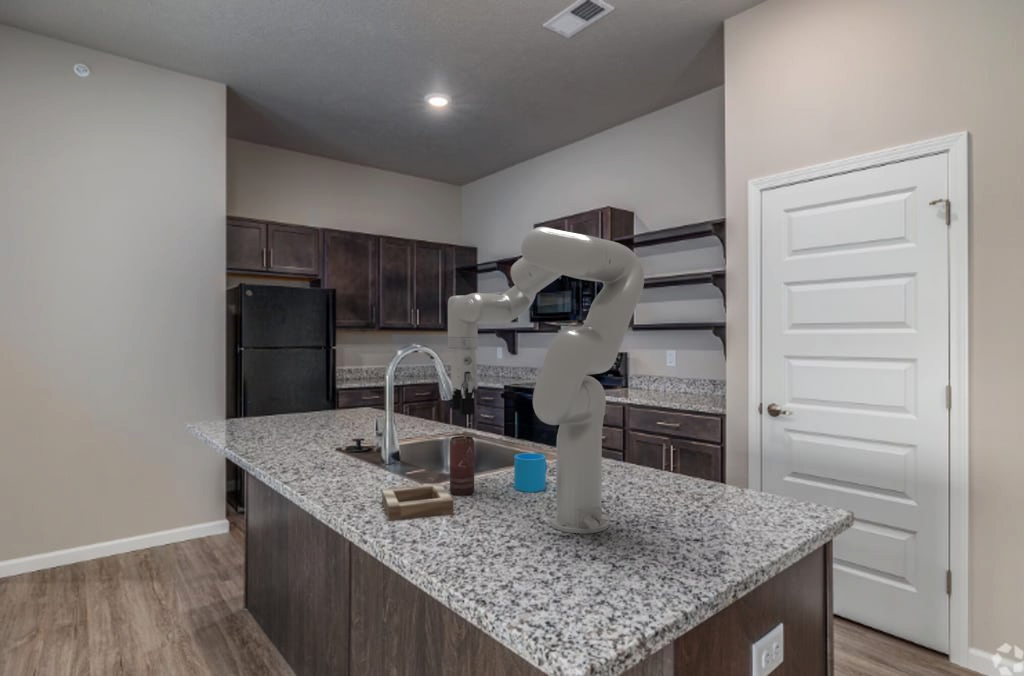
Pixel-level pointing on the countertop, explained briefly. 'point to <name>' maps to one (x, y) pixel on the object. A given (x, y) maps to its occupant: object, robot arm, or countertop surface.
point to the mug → (530, 472)
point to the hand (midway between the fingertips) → (462, 411)
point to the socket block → (416, 502)
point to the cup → (462, 465)
